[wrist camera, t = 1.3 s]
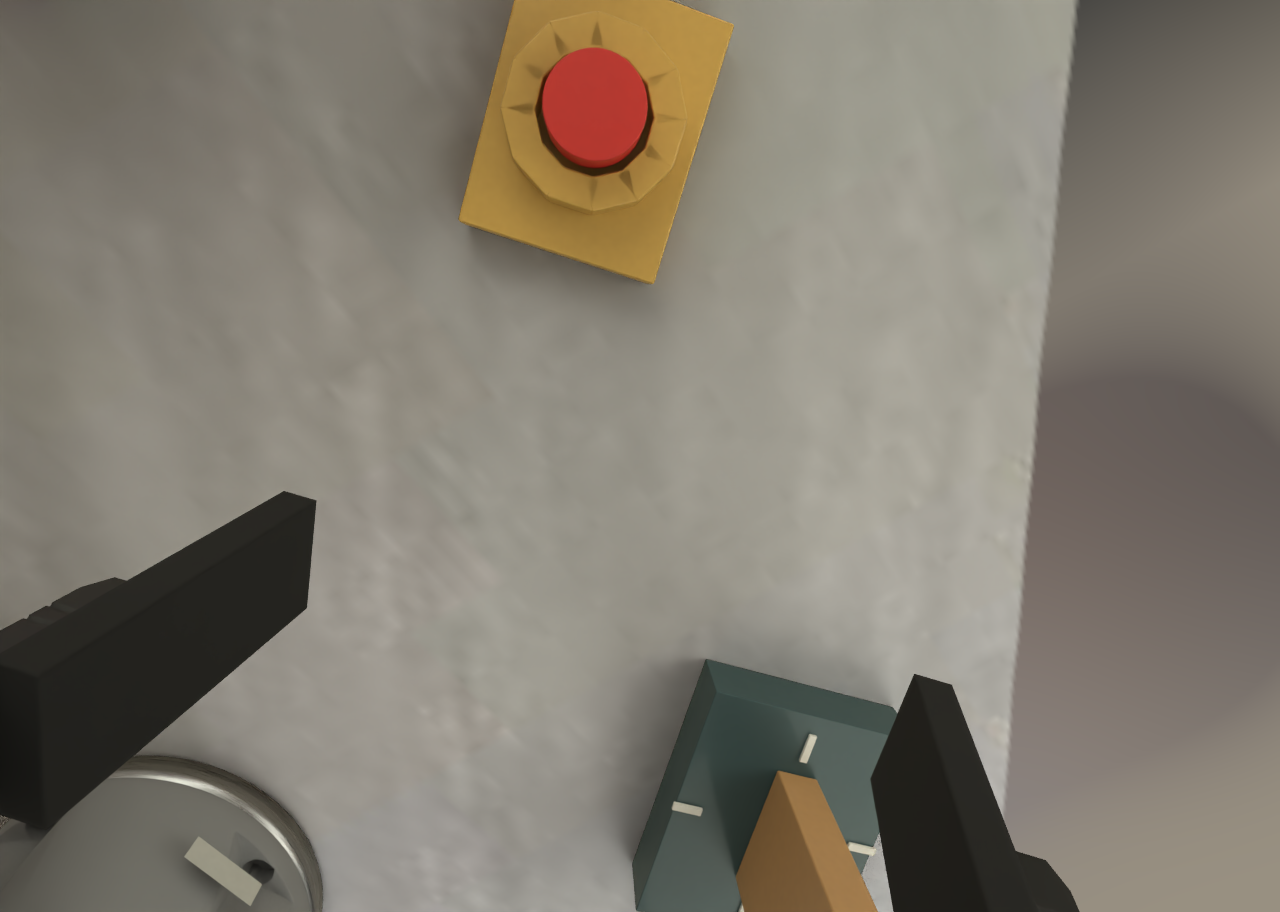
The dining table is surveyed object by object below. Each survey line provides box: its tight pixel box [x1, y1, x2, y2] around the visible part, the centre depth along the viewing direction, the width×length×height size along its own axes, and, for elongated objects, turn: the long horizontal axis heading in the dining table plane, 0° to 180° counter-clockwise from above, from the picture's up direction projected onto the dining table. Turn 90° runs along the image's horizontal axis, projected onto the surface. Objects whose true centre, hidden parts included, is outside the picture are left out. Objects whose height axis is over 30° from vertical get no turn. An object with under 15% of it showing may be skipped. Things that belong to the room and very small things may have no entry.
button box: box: [459, 0, 734, 284], centre depth 29 cm, size 10×8×4 cm
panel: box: [632, 659, 897, 912], centre depth 37 cm, size 12×10×3 cm
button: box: [542, 48, 648, 168], centre depth 26 cm, size 4×4×2 cm
